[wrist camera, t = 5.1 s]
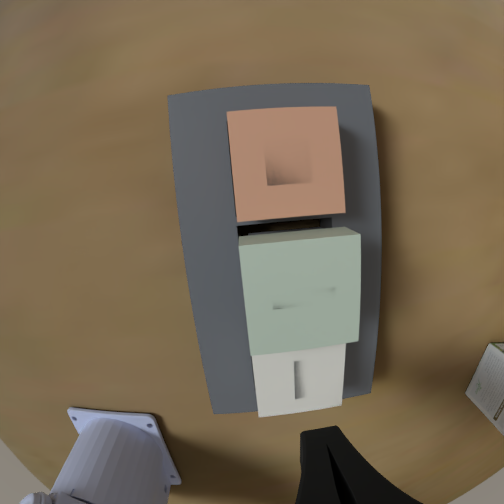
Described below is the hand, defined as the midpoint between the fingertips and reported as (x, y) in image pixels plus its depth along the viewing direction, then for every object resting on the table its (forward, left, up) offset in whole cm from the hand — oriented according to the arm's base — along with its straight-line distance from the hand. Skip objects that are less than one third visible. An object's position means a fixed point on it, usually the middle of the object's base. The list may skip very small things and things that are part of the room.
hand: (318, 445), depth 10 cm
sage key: (+5, 0, -7) cm, 9 cm away
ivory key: (0, 0, -9) cm, 9 cm away
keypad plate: (+5, 0, -9) cm, 11 cm away
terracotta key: (+10, 0, -9) cm, 13 cm away
